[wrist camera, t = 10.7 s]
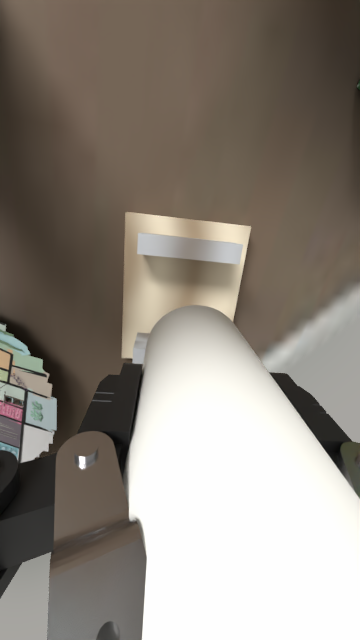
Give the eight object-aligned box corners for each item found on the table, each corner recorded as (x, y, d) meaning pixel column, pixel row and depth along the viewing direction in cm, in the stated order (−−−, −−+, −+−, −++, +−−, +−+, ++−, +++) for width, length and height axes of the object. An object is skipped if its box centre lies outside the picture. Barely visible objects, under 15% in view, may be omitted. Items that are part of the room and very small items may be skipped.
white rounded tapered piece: (143, 388, 14) (49, 1026, 3) (149, 300, 12) (-44, 1072, 1) (232, 393, 14) (460, 962, 3) (249, 309, 13) (886, 919, 1)
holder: (123, 351, 27) (115, 376, 22) (128, 213, 22) (117, 208, 17) (221, 357, 28) (233, 383, 23) (245, 226, 23) (266, 225, 18)
